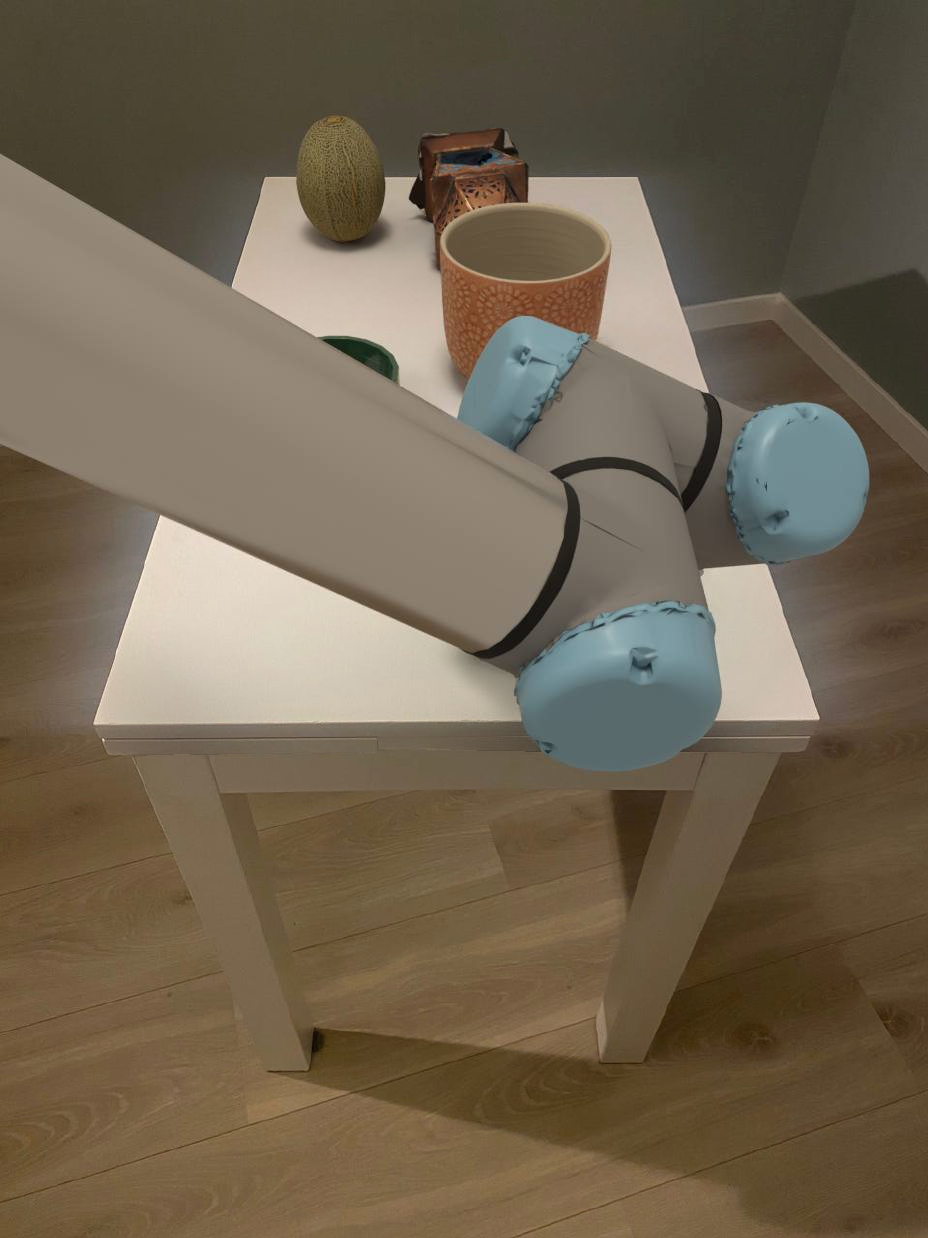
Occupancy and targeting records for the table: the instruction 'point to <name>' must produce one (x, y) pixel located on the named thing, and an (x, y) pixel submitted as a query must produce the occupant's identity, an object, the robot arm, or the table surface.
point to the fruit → (340, 179)
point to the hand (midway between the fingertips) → (509, 545)
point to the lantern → (467, 175)
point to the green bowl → (367, 354)
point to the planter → (520, 273)
